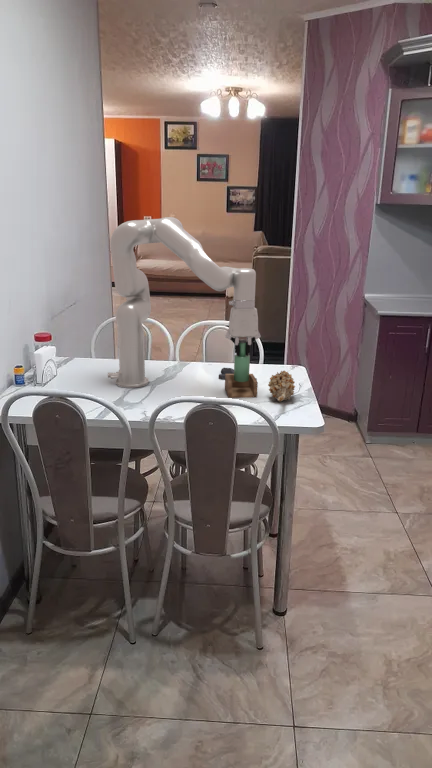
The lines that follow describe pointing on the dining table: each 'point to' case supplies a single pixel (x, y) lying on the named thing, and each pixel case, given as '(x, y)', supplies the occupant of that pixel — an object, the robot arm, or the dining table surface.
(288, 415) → the dining table surface
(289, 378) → the pine cone
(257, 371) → the dining table surface
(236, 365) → the bottle
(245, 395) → the wooden square tray
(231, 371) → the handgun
